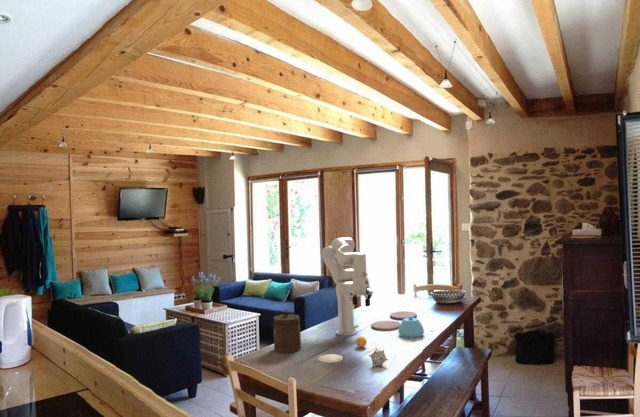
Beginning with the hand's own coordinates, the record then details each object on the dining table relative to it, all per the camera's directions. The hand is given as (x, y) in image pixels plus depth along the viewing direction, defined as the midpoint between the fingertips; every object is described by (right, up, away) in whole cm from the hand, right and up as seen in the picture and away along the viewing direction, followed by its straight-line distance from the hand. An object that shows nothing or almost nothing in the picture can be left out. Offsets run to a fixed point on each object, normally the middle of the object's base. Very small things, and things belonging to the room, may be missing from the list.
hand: (361, 305), depth 276 cm
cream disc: (-18, -23, -25) cm, 38 cm away
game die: (+5, -22, -38) cm, 44 cm away
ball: (-1, -19, -7) cm, 20 cm away
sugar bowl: (+31, -21, +14) cm, 40 cm away
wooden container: (-42, -24, -6) cm, 48 cm away
